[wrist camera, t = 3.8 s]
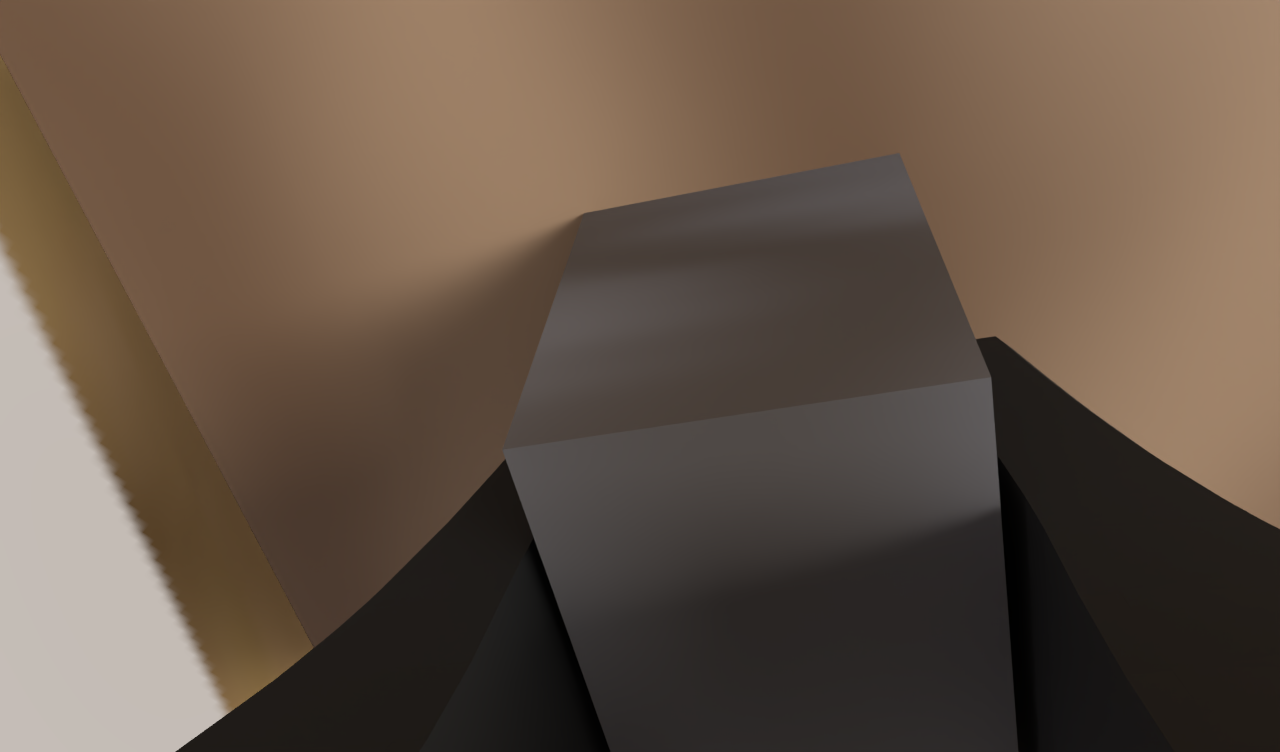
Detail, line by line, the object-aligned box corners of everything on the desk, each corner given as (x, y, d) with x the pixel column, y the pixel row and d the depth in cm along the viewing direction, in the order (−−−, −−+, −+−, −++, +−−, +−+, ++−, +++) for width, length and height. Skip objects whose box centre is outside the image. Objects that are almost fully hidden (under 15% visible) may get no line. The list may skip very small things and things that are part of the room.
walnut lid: (430, 778, 16) (318, 1147, 12) (-12, -118, 10) (-597, -23, 6) (1342, 699, 14) (1617, 1126, 9) (1530, -557, 7) (2624, -996, 3)
